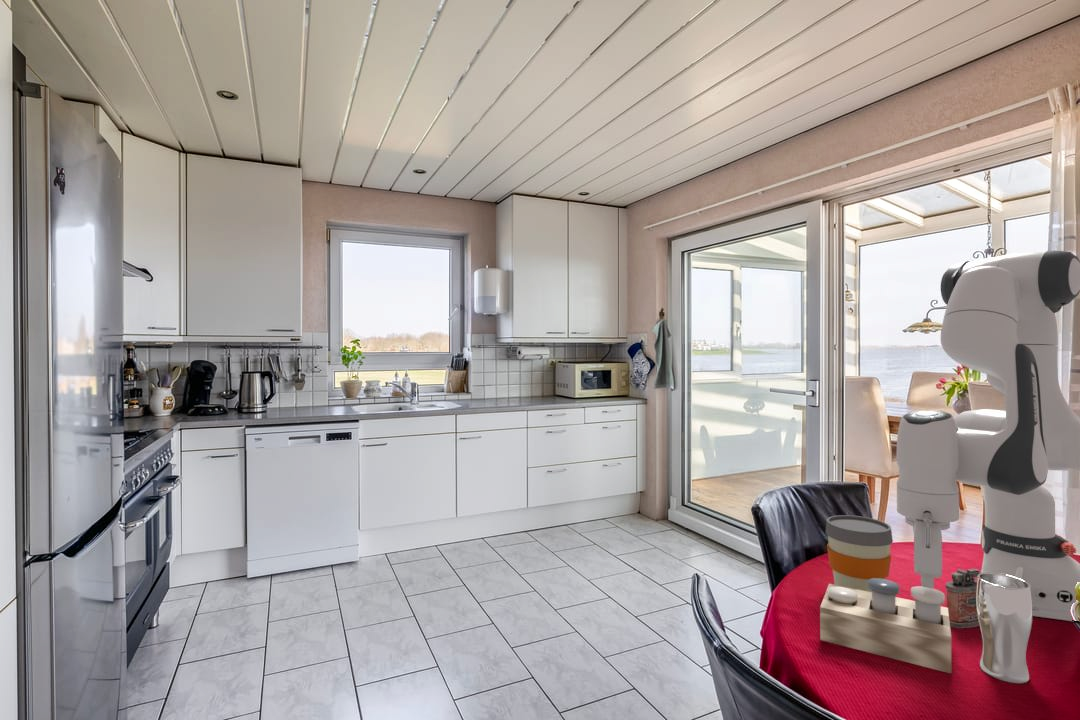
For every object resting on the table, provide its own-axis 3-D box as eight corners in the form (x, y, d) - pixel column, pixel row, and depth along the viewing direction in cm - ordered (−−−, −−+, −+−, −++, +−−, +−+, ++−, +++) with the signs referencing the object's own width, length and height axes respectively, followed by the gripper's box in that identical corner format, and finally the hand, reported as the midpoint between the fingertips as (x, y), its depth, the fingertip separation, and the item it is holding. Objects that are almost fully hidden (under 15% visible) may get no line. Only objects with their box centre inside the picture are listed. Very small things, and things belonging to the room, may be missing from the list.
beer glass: (976, 655, 93) (976, 568, 93) (1031, 670, 89) (1031, 578, 89) (976, 674, 88) (975, 581, 88) (1034, 691, 83) (1033, 593, 83)
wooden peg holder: (948, 640, 98) (947, 607, 98) (951, 673, 88) (951, 636, 88) (829, 613, 109) (829, 583, 109) (820, 640, 99) (820, 607, 99)
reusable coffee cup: (890, 611, 109) (889, 537, 109) (821, 595, 117) (820, 525, 117) (895, 589, 119) (895, 521, 119) (831, 576, 127) (830, 511, 127)
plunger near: (944, 629, 95) (944, 590, 95) (945, 641, 91) (945, 600, 91) (911, 621, 98) (911, 584, 98) (911, 633, 94) (910, 594, 94)
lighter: (958, 629, 102) (957, 576, 102) (940, 621, 105) (940, 569, 105) (990, 623, 104) (990, 571, 104) (972, 615, 107) (971, 564, 107)
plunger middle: (900, 619, 99) (899, 581, 99) (899, 630, 95) (898, 591, 95) (869, 612, 102) (868, 576, 102) (867, 623, 98) (866, 585, 98)
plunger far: (858, 626, 103) (858, 590, 103) (856, 637, 99) (856, 600, 99) (830, 619, 106) (829, 584, 106) (826, 630, 102) (826, 593, 102)
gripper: (952, 524, 84) (953, 613, 84) (947, 495, 101) (947, 569, 101) (903, 517, 88) (904, 603, 88) (906, 490, 105) (906, 562, 105)
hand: (927, 584), depth 95 cm, fingers closed
